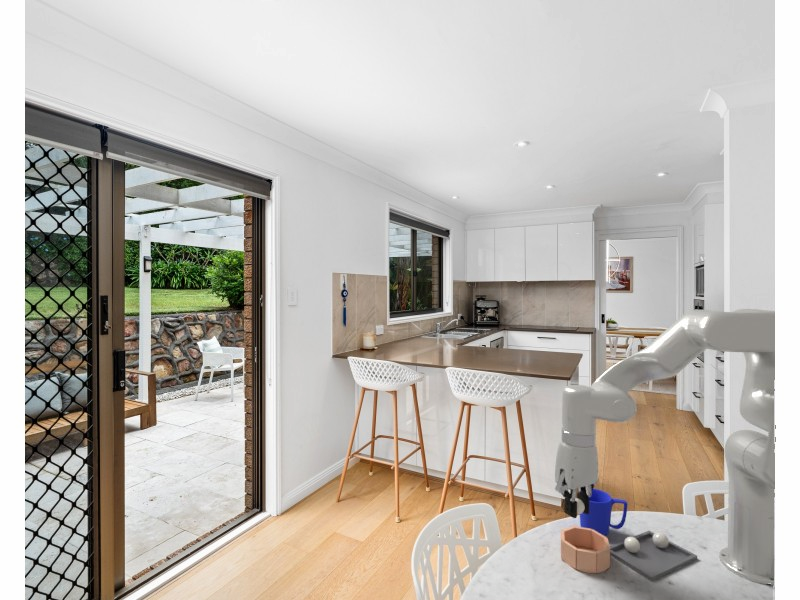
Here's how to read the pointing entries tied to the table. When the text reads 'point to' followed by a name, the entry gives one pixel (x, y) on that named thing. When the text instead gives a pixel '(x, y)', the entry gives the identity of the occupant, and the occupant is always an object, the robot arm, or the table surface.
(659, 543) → the white ball
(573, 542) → the bowl
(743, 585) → the table surface
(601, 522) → the mug
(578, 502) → the white ball
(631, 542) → the white ball
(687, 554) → the tray
